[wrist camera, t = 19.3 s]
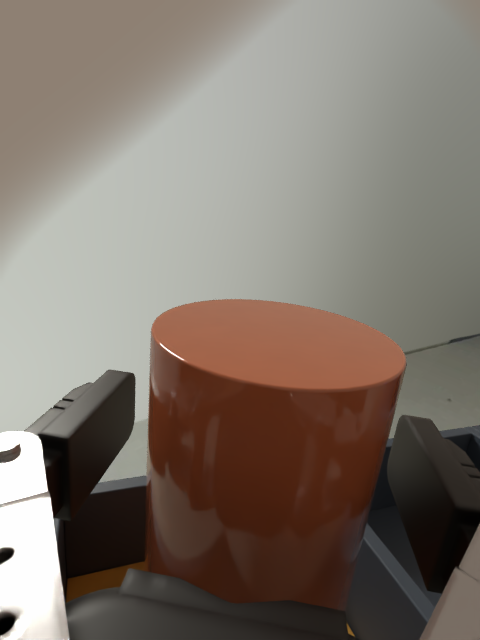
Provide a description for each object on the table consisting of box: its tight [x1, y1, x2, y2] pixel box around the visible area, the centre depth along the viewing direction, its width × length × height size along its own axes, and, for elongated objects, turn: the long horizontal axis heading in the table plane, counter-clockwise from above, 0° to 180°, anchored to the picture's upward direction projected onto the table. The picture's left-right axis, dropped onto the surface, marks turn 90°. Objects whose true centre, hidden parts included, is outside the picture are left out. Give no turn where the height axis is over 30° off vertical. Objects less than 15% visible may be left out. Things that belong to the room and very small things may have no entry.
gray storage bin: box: [53, 425, 480, 640], centre depth 15 cm, size 32×11×4 cm, turn 110°
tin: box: [143, 299, 407, 611], centre depth 10 cm, size 6×6×12 cm
